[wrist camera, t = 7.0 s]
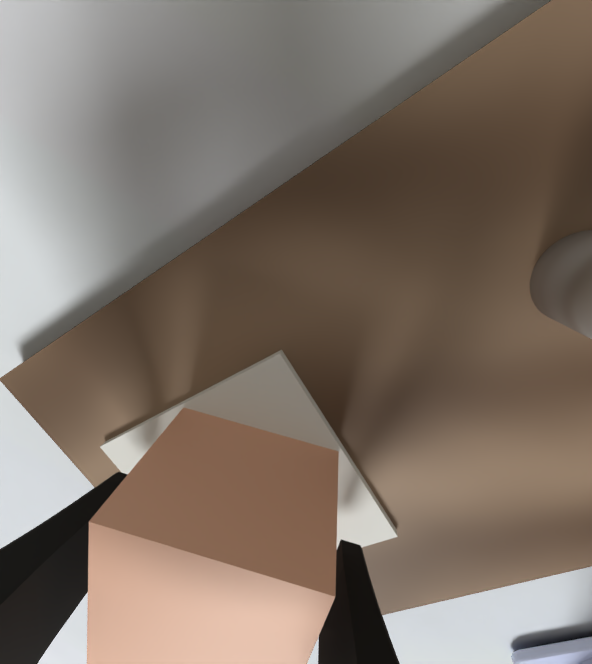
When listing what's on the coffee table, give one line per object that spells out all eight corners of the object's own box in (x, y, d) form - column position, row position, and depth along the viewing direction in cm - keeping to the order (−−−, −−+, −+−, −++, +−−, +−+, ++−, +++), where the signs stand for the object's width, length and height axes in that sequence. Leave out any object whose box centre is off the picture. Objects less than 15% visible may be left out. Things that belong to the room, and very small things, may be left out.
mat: (396, 529, 12) (397, 536, 12) (223, 582, 14) (221, 589, 14) (281, 349, 10) (280, 353, 10) (105, 441, 13) (99, 446, 12)
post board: (883, 460, 10) (1267, 635, 6) (243, 624, 17) (209, 761, 13) (778, -146, 7) (1535, -771, 2) (23, 367, 13) (-125, 438, 9)
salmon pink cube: (300, 560, 13) (279, 726, 9) (168, 520, 13) (86, 663, 9) (338, 451, 11) (335, 596, 7) (183, 407, 11) (88, 521, 7)
